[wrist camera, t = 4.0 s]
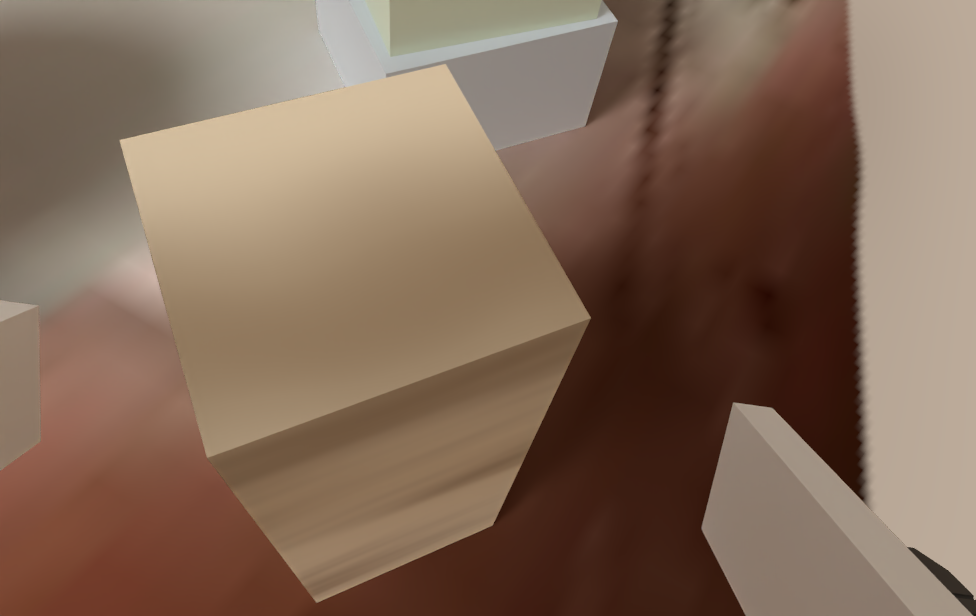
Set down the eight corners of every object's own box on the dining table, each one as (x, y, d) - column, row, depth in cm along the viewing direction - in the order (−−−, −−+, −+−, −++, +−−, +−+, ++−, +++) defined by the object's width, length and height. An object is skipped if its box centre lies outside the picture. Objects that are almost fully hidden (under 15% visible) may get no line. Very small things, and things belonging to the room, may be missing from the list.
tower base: (319, 34, 29) (304, -86, 25) (499, -3, 31) (515, -119, 27) (388, 182, 26) (385, 73, 21) (584, 128, 28) (617, 21, 24)
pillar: (262, 430, 21) (119, 139, 10) (425, 371, 22) (445, 64, 12) (316, 602, 18) (206, 457, 8) (492, 525, 20) (590, 317, 10)
